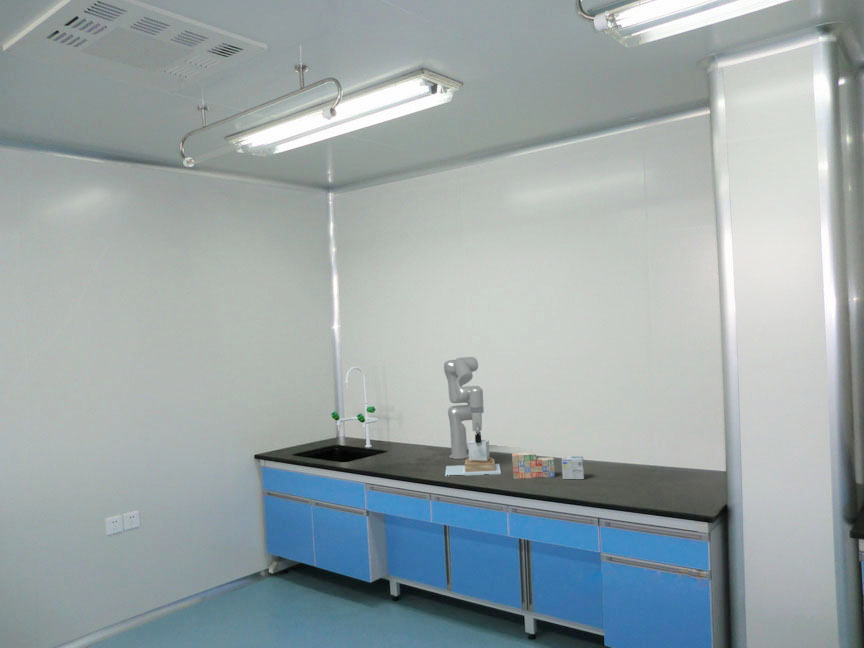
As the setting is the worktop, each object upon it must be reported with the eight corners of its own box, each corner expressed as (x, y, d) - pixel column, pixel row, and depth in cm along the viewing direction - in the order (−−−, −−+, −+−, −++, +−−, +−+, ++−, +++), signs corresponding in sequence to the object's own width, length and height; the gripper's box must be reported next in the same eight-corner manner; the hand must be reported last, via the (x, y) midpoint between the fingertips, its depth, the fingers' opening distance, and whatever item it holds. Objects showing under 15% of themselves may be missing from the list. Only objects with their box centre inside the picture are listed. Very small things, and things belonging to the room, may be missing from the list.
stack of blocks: (554, 474, 358) (552, 451, 358) (554, 477, 352) (553, 453, 352) (513, 476, 361) (511, 452, 361) (513, 478, 354) (511, 455, 354)
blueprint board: (446, 467, 390) (446, 465, 390) (499, 465, 388) (499, 463, 388) (445, 476, 368) (445, 474, 368) (500, 474, 366) (500, 471, 366)
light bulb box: (584, 476, 349) (583, 455, 349) (584, 480, 343) (582, 458, 343) (563, 476, 352) (562, 456, 352) (562, 479, 345) (561, 458, 345)
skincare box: (468, 460, 377) (467, 441, 377) (471, 458, 383) (470, 439, 383) (487, 460, 373) (486, 441, 373) (490, 458, 379) (489, 439, 379)
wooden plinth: (465, 466, 385) (465, 457, 385) (494, 465, 384) (493, 456, 384) (465, 472, 371) (464, 462, 371) (495, 470, 370) (494, 461, 370)
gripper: (470, 408, 387) (471, 438, 387) (470, 412, 370) (471, 444, 370) (483, 407, 387) (484, 437, 387) (483, 412, 369) (485, 443, 370)
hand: (478, 440), depth 379 cm, fingers open, 9 cm apart
